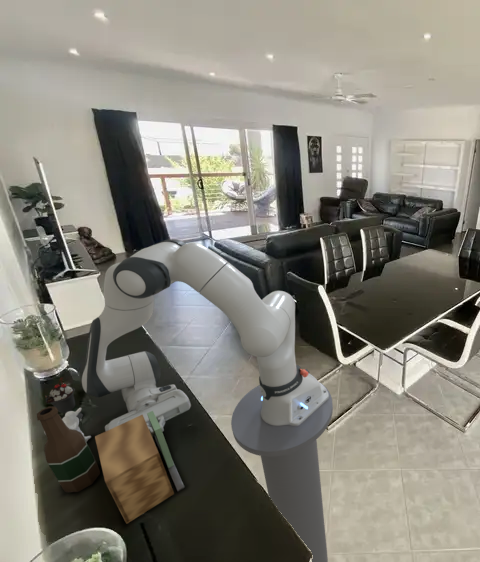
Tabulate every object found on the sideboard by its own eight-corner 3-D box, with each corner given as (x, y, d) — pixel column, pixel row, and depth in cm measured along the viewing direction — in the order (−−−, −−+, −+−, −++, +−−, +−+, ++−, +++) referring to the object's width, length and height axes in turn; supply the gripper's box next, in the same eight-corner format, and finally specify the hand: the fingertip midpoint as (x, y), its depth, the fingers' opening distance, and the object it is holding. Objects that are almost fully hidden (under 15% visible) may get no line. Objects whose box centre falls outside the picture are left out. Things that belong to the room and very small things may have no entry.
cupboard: (159, 431, 98) (145, 394, 92) (184, 487, 83) (170, 446, 77) (109, 457, 90) (90, 418, 84) (126, 524, 75) (104, 481, 69)
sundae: (89, 408, 106) (72, 372, 100) (81, 424, 101) (62, 386, 95) (65, 414, 104) (46, 377, 98) (54, 430, 99) (33, 392, 93)
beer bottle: (105, 461, 89) (72, 394, 79) (97, 486, 83) (60, 417, 73) (69, 472, 86) (31, 404, 76) (58, 499, 80) (14, 429, 70)
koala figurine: (94, 431, 98) (79, 401, 94) (97, 444, 94) (82, 414, 89) (57, 448, 93) (39, 417, 88) (58, 463, 89) (40, 431, 84)
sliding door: (167, 446, 93) (153, 410, 87) (175, 464, 88) (161, 427, 82) (160, 449, 92) (146, 413, 86) (168, 468, 87) (154, 430, 81)
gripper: (100, 416, 91) (107, 446, 82) (179, 381, 104) (193, 404, 95) (107, 432, 93) (115, 463, 85) (184, 396, 107) (198, 420, 98)
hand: (157, 432), depth 90 cm, fingers closed, pressing on sliding door
